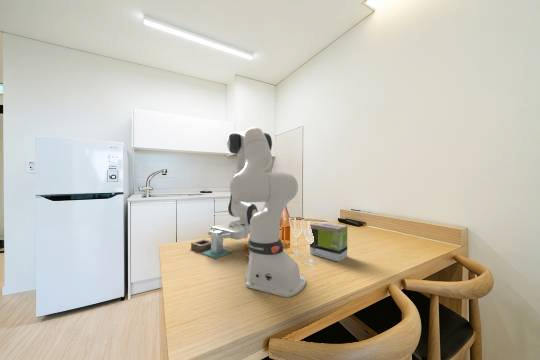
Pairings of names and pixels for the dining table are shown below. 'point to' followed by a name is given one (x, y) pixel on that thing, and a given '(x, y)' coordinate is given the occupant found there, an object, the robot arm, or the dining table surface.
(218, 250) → the steel peg
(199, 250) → the socket block
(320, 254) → the tea box
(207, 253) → the rubber mat
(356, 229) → the dining table surface
